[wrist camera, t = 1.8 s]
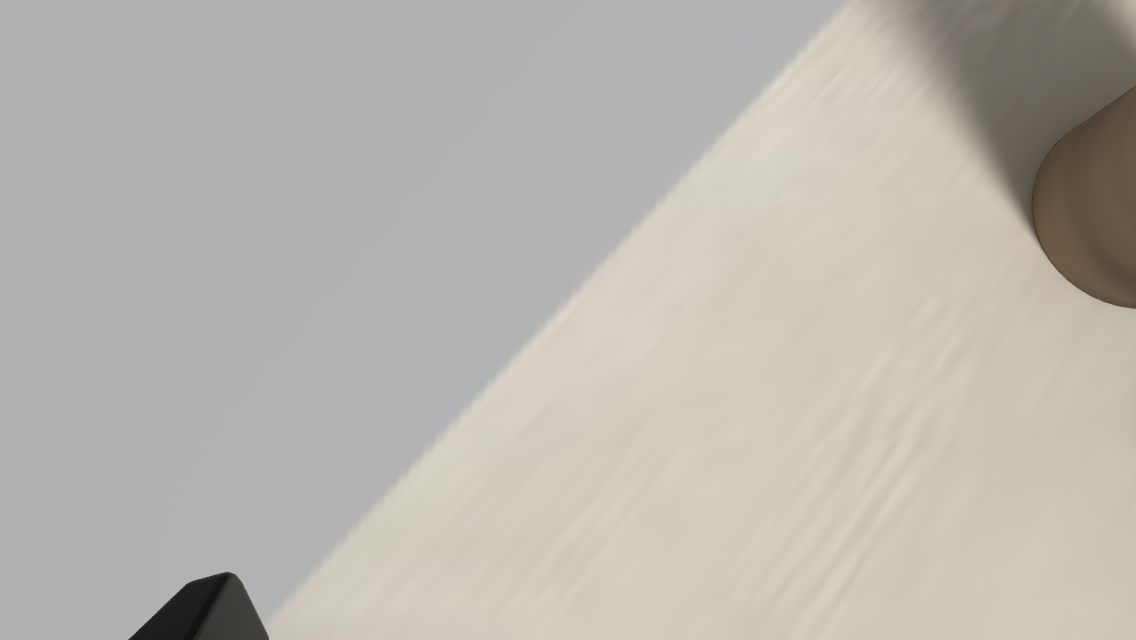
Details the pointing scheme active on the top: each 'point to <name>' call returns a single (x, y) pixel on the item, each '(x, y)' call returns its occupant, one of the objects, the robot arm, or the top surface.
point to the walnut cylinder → (1093, 204)
